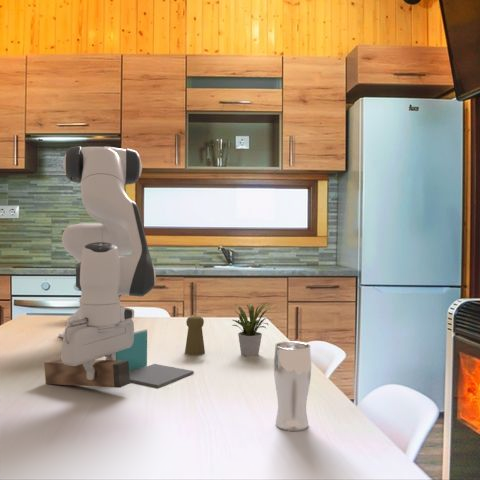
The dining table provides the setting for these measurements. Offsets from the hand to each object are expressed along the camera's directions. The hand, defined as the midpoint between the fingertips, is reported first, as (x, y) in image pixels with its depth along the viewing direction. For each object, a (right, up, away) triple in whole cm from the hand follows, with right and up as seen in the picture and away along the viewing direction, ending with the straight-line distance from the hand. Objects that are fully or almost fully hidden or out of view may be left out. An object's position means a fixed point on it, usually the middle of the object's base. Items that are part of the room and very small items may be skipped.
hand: (99, 375), depth 110 cm
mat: (+11, -3, +12) cm, 16 cm away
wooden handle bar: (-3, -2, +2) cm, 4 cm away
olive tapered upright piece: (+18, -3, +37) cm, 41 cm away
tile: (+3, -3, +17) cm, 17 cm away
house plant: (+36, -4, +35) cm, 51 cm away
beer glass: (+41, -4, -19) cm, 46 cm away
